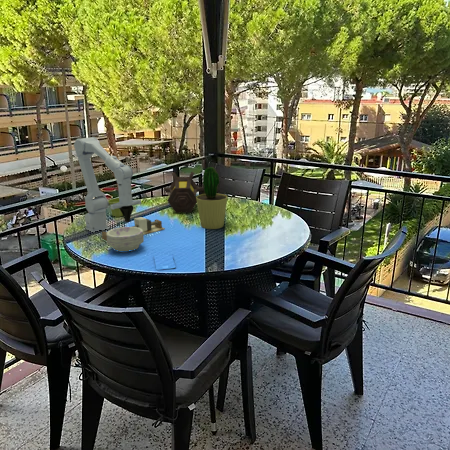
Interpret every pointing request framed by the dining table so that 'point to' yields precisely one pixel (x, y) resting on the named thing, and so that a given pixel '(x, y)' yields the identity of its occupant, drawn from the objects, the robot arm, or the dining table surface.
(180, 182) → the lantern
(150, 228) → the bracket
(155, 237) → the dining table surface
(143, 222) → the pale sage cube
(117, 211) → the plant pot
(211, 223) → the potted cactus
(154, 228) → the pipe stand
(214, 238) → the dining table surface
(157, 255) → the dining table surface
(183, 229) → the dining table surface
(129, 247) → the paper bowls
